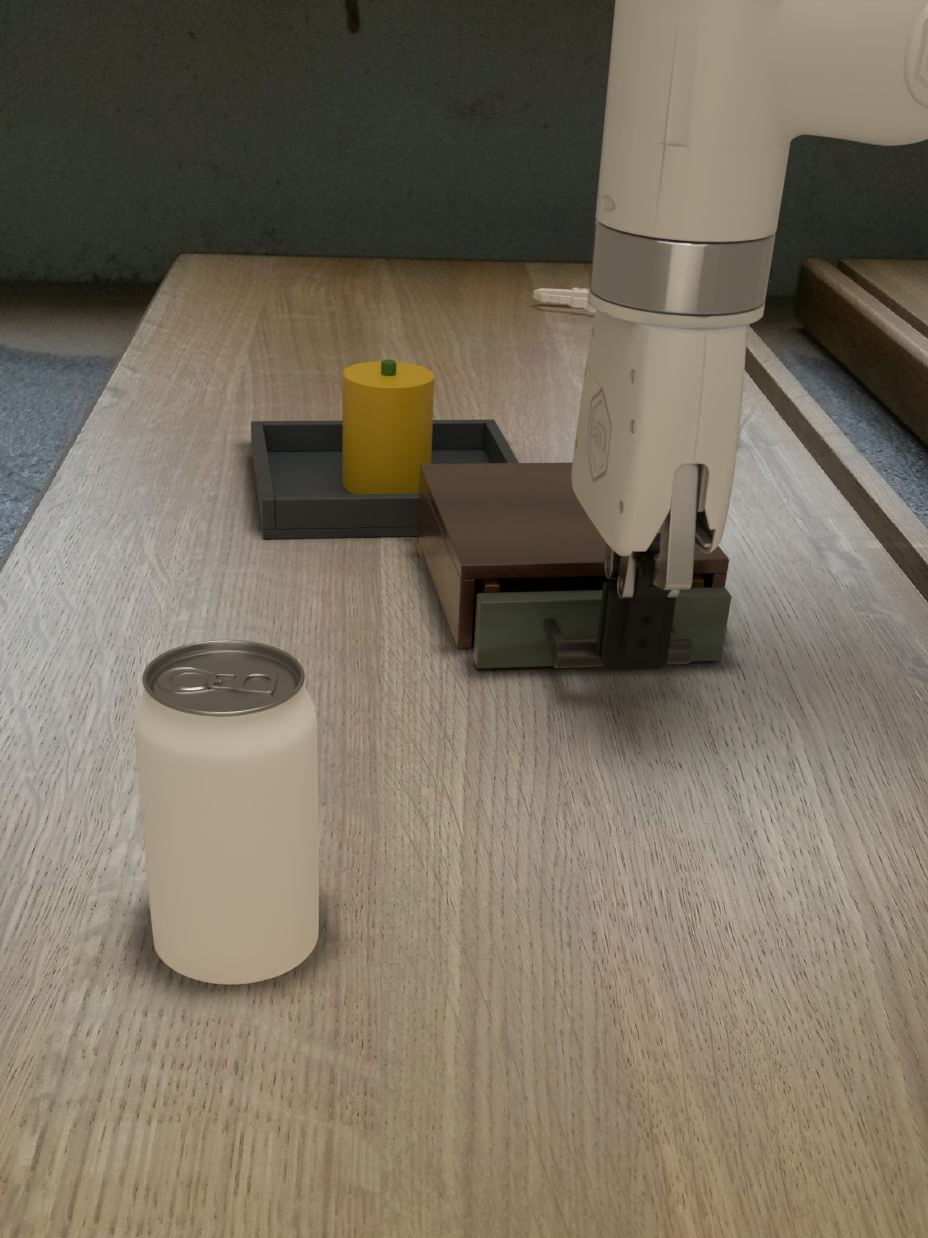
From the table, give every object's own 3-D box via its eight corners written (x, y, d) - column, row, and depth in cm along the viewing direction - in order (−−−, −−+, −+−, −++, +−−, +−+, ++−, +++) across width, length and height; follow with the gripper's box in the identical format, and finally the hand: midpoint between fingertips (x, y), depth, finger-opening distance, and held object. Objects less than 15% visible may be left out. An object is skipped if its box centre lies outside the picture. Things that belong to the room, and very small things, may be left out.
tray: (492, 454, 108) (494, 419, 107) (535, 534, 95) (538, 495, 94) (252, 456, 105) (250, 420, 104) (263, 539, 93) (262, 499, 91)
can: (170, 895, 60) (149, 629, 54) (326, 903, 60) (325, 638, 54) (138, 995, 55) (111, 713, 48) (310, 1004, 55) (306, 723, 48)
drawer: (746, 696, 75) (757, 629, 73) (490, 706, 73) (495, 637, 71) (649, 556, 91) (657, 496, 89) (435, 560, 89) (438, 500, 87)
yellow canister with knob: (423, 469, 103) (427, 348, 98) (436, 500, 98) (441, 374, 93) (338, 470, 102) (338, 348, 97) (346, 501, 97) (347, 374, 92)
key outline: (533, 316, 142) (534, 297, 141) (531, 303, 146) (533, 285, 145) (667, 322, 142) (669, 303, 141) (661, 309, 146) (663, 291, 145)
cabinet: (714, 653, 82) (729, 559, 78) (456, 662, 79) (461, 565, 76) (641, 546, 94) (651, 461, 91) (417, 550, 92) (419, 463, 89)
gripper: (554, 233, 68) (525, 602, 78) (641, 316, 55) (593, 740, 66) (710, 235, 69) (661, 598, 79) (828, 317, 57) (753, 733, 67)
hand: (630, 661), depth 72 cm, fingers closed
